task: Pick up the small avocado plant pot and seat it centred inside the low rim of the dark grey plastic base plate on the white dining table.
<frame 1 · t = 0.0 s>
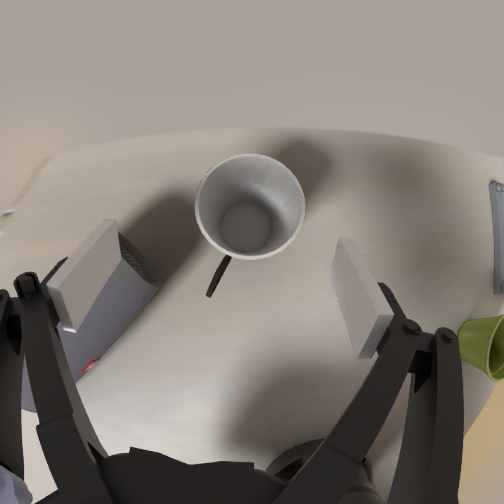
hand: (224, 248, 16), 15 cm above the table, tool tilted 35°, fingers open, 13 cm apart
coffee mug: (235, 236, 32), on the table
plant pot: (466, 339, 33), on the table
bluetooth speaker: (89, 324, 30), on the table
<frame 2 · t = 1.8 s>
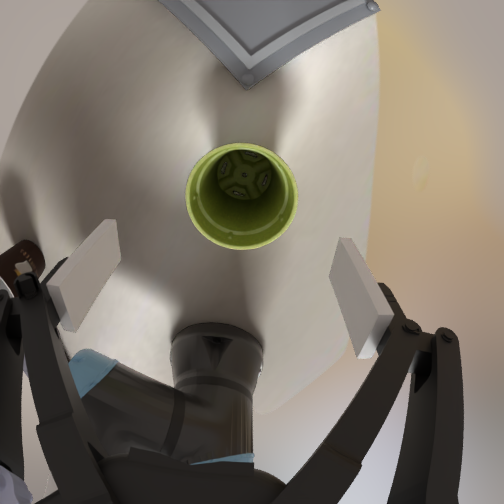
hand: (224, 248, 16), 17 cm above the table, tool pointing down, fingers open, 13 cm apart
coffee mug: (33, 264, 37), on the table
plant pot: (243, 173, 31), on the table
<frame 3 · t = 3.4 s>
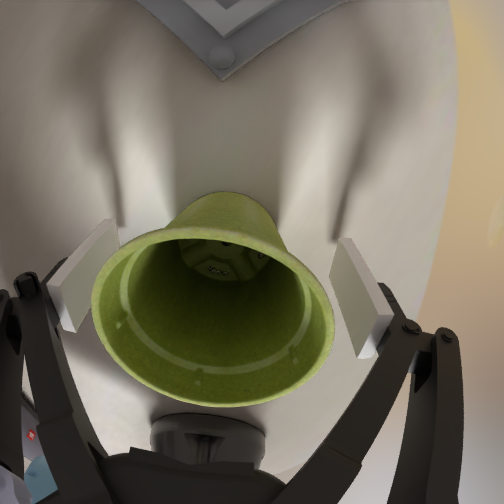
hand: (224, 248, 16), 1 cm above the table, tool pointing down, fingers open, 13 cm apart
plant pot: (225, 236, 18), on the table
bluetooth speaker: (25, 402, 34), on the table
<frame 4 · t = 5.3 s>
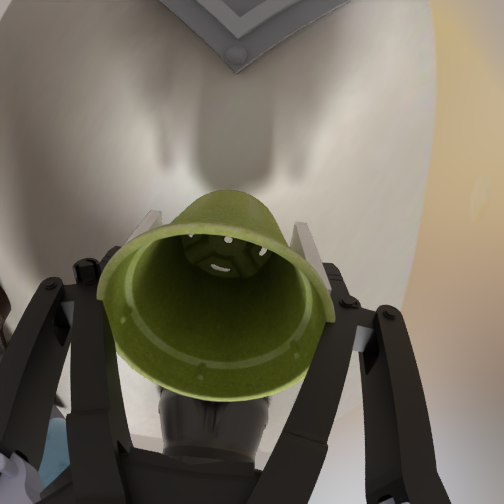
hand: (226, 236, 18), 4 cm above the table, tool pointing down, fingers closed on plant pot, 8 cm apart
coffee mug: (0, 302, 28), on the table
plant pot: (227, 233, 18), point 3 cm above the table, touching gripper
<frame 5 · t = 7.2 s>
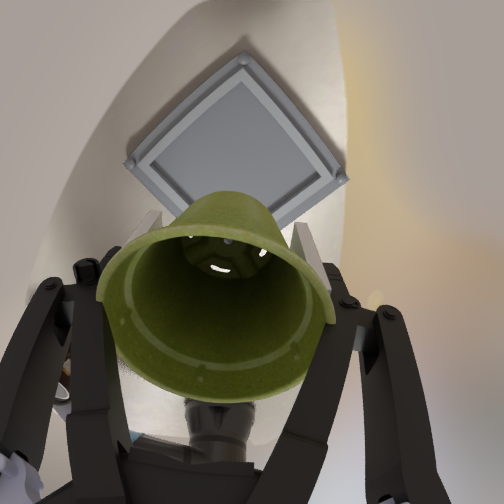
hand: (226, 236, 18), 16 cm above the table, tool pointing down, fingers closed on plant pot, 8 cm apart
coffee mug: (70, 352, 48), on the table
base plate: (235, 163, 31), on the table
plant pot: (227, 234, 18), point 15 cm above the table, touching gripper
bluetooth speaker: (87, 399, 58), on the table
when the fingers open (3 cm above the table, at t = 9.4 s): plant pot drops 1 cm, resting on base plate.
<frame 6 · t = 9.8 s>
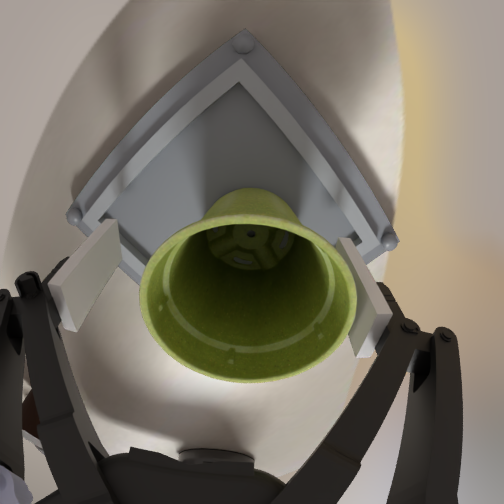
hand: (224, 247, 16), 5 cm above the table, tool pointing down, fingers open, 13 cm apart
coffee mug: (50, 399, 38), on the table
base plate: (229, 215, 20), on the table
plant pot: (249, 228, 20), point 1 cm above the table, touching base plate
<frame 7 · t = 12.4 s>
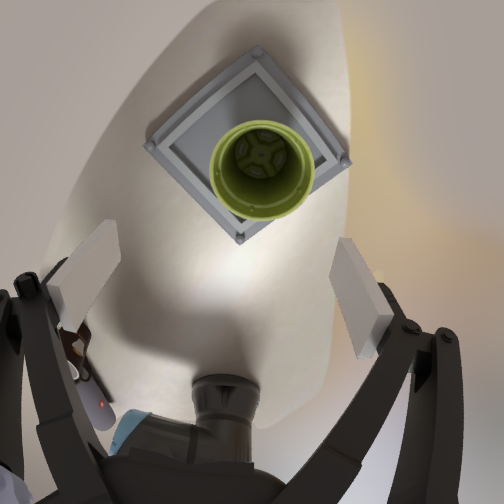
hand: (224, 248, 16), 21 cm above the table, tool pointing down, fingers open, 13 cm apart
coffee mug: (80, 334, 52), on the table
base plate: (248, 147, 33), on the table
plant pot: (260, 153, 32), point 1 cm above the table, touching base plate
bluetooth speaker: (94, 382, 62), on the table
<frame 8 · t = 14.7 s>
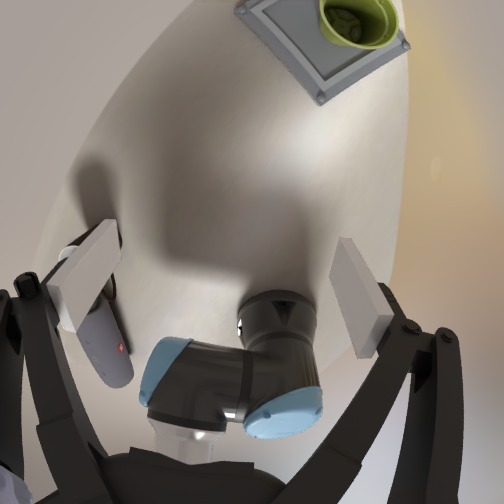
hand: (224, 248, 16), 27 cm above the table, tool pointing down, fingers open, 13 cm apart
coffee mug: (107, 246, 47), on the table
base plate: (327, 25, 29), on the table
plant pot: (339, 27, 28), point 1 cm above the table, touching base plate
bluetooth speaker: (111, 325, 57), on the table
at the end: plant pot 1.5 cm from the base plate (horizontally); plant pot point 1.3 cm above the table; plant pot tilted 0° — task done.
